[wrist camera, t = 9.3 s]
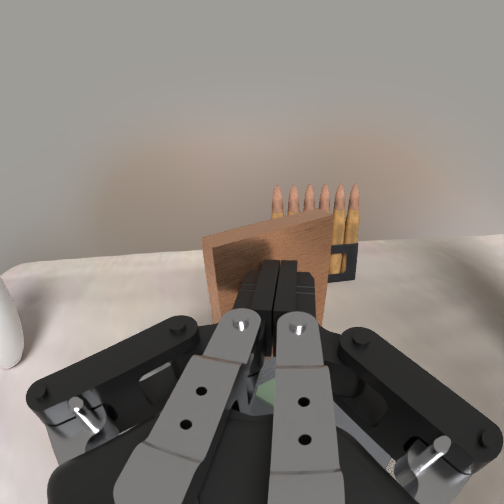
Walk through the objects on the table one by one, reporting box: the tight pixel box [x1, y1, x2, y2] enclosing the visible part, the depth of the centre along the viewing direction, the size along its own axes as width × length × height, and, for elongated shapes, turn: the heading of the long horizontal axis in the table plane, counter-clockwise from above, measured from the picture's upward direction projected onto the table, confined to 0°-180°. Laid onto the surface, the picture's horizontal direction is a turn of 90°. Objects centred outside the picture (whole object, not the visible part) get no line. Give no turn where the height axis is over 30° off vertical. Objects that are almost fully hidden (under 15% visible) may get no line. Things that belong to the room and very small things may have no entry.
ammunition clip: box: [271, 184, 359, 283], centre depth 31 cm, size 11×2×12 cm, turn 95°
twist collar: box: [119, 208, 334, 435], centre depth 13 cm, size 16×7×10 cm, turn 121°
